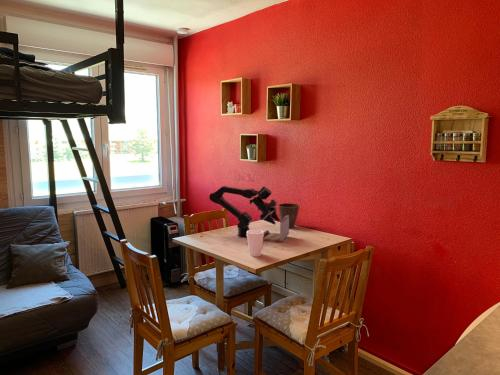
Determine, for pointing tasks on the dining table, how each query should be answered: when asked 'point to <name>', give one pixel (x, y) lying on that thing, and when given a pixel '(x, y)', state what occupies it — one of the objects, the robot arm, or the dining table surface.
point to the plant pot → (289, 212)
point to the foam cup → (255, 242)
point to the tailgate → (284, 227)
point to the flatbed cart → (271, 237)
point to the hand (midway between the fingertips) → (277, 222)
